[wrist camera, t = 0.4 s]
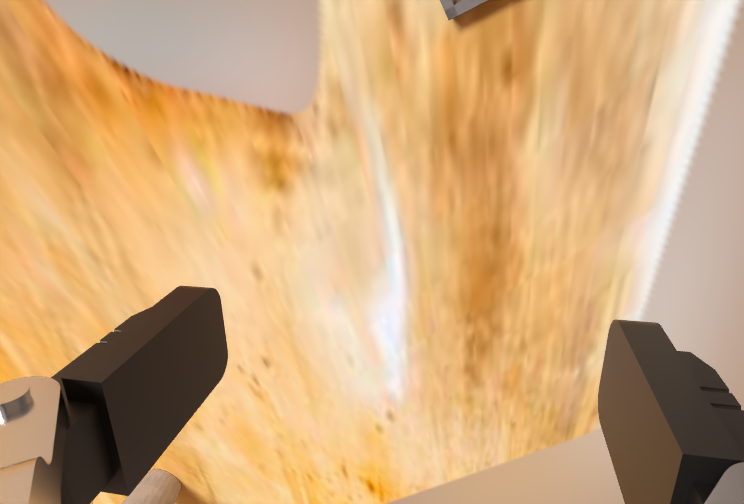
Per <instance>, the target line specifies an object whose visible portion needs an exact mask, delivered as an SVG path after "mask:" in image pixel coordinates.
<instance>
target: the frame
mask: <svg viewBox="0 0 744 504" xmlns="http://www.w3.org/2000/svg"><path fill="white" fill-rule="evenodd" d="M440 1H441V4H442V6H443V8H444V11H445V13H446V15H447V18H448V20H451V19H453V18H455V17H457V16H458V15H460V14H462V13H464V12H466V11H468V10H470V9H472V8H474V7H476V6H477V5H479V4H481V3H483V2H485V1H487V0H460V1H458V2H456V1H455V0H440Z"/></svg>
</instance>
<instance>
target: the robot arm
mask: <svg viewBox="0 0 744 504" xmlns="http://www.w3.org/2000/svg"><path fill="white" fill-rule="evenodd" d="M227 359H228V350H227V342H226V335H225V328H224V320H223V313H222V305H221V299H220V295H219V293H218V291H217V290H216V289H214V288H205V287H192V286H179V287H177V288H176V289H174V290H173V291H172V292H171V293H169V294H168V295H167V296H165V297H164V298H163V299H162V300H160V301H159V302H158V303H156V304H155V305H154V306H153V307H151V308H149V309H146V310H144V311H142V312H140V313H138V314H135V315H133V316H131V317H130V318H129V319H127V320H126V321H125V322H123V323H122V324H121V325H119V326H118V327H117V328H115V329H114V332H110V333H109V334H108V335H106V336H105V337H104V338H102V339H101V340H100V343H96V344H95V345H93V346H92V347H91V348H89V349H88V350H87V351H85V352H84V353H83V354H81V355H80V356H79V357H77V358H76V359H75V360H74V361H72V362H71V363H70V364H68V365H67V366H66V367H64V368H63V369H62V370H60V371H59V372H58V373H57V374H55V375H54V376H53V377H51V378H49V377H42V376H32V377H24V378H19V379H14V380H11V381H7V382H4V383H1V384H0V504H93V502H92V501H93V500H94V498H95V497H96V496H97V495H98V494H99V493H100V492H107V493H114V494H120V495H126V496H129V495H130V494H131V493H132V491H133V490H134V489H135V488H136V486H137V485H138V484H139V483H140V481H141V480H142V479H143V478H144V476H145V475H146V474H147V473H148V471H149V470H150V469H151V467H152V466H153V465H154V464H155V462H156V461H157V460H158V459H159V457H160V456H161V455H162V454H163V452H164V451H165V450H166V449H167V447H168V446H169V445H170V443H171V442H172V441H173V440H174V438H175V437H176V436H177V435H178V433H179V432H180V431H181V430H182V428H183V427H184V426H185V424H186V423H187V422H188V421H189V419H190V418H191V417H192V416H193V414H194V413H195V412H196V411H197V409H198V408H199V407H200V406H201V404H202V403H203V402H204V400H205V399H206V398H207V397H208V395H209V394H210V393H211V392H212V390H213V389H214V388H215V387H216V385H217V384H218V383H219V381H220V380H221V379H222V377H223V375H224V372H225V369H226V365H227ZM598 412H599V420H600V424H601V427H602V430H603V434H604V437H605V440H606V444H607V447H608V450H609V453H610V456H611V460H612V463H613V466H614V469H615V472H616V476H617V479H618V482H619V486H620V489H621V492H622V495H623V498H624V502H625V504H744V411H742V410H741V405H740V404H739V403H738V401H737V400H736V398H735V397H734V396H733V394H732V393H729V389H728V387H727V386H726V385H725V383H724V382H723V381H722V379H721V378H720V376H719V375H718V374H717V372H716V371H715V369H713V368H712V367H710V366H709V365H708V364H706V363H705V362H703V361H702V360H701V359H699V358H698V357H696V356H695V355H694V354H692V353H691V352H683V351H682V352H681V351H676V349H675V347H674V346H673V344H672V343H671V341H670V339H669V338H668V336H667V335H666V333H665V332H664V330H663V328H662V327H661V325H660V324H658V323H652V322H640V321H627V320H613V321H612V323H611V326H610V329H609V333H608V339H607V345H606V351H605V357H604V362H603V368H602V374H601V380H600V386H599V393H598Z"/></svg>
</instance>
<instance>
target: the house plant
mask: <svg viewBox="0 0 744 504" xmlns="http://www.w3.org/2000/svg"><path fill="white" fill-rule="evenodd" d="M180 489H181V483H180V481H179V480H178V479H177V478H176V477H175V476H173V475H172V474H170V473H168V472H166V471H163V470H159V469H153V470H151V471H150V472H149V473H148V474H147V475H146V476H145V478H144V479H143V480H142V481H141V482H140V483H139V484H138V485H137V487H136V488H135V489H134V490H133V491H132V493H131V494H130V495H129V496H128V497H127V498H126V499H125V500H124V501H123V503H122V504H175V502H176V499H177V497H178V494H179V492H180Z"/></svg>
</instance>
